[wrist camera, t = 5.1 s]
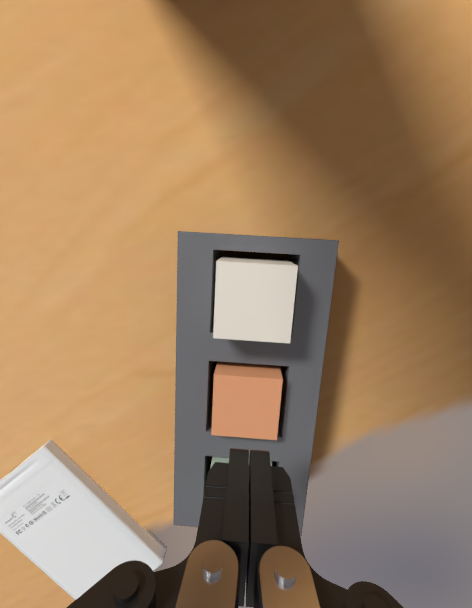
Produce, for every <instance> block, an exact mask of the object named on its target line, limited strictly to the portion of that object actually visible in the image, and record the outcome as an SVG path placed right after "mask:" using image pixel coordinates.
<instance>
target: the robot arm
mask: <svg viewBox="0 0 472 608" xmlns="http://www.w3.org/2000/svg"><path fill="white" fill-rule="evenodd" d="M245 582H246V607H254V608H403V607H402V606H401V605H400V604H399V603H398V602H397V601H396V600H395V599H394V598H393V597H392V596H391V595H390V594H389V593H388V592H387V591H385V590H384V589H383V588H381V587H379V586H378V585H376V584H373V583H370V582H363V581H361V582H357V583H355V584H353V585H352V586H350V588H349V589H348V590H347V589H345V588H342V587H340V586H338V585H336V584H333V583H331V582H329V581H327V580H325V579H323V578H322V577H321V576H319V575H318V574H317V573H316V572H315V571H314V570H313V569H312V568H311V566H310V565H309V563H308V562H307V560H306V558H305V556H304V553H303V549H302V544H301V538H300V532H299V526H298V520H297V514H296V508H295V502H294V496H293V490H292V484H291V479H290V477H289V476H288V474H287V472H286V471H285V469H284V468H283V467H275V466H271V464H270V453H269V451H264V450H250V458H249V449H236V448H230V455H229V463H221V462H215V463H214V464H213V466H212V467H211V469H210V470H209V471H208V474H207V480H206V486H205V491H204V498H203V503H202V509H201V514H200V520H199V526H198V532H197V537H196V542H195V545H194V548H193V549H192V551H191V553H190V554H189V555H188V557H187V558H186V559H185V560H184V561H182V562H181V563H179V564H178V565H176V566H174V567H171V568H168V569H164V570H161V571H157V572H154V573H153V571H152V569H151V568H150V567H149V566H148V565H147V564H146V563H144V562H141V561H137V560H133V561H127V562H124V563H121V564H120V565H118V566H116V567H115V568H114V569H112V570H111V571H110V572H109V573H107V574H106V575H105V576H104V577H103V578H101V579H100V580H99V581H98V582H97V583H95V584H94V585H93V586H92V587H91V588H90V589H88V590H87V591H86V592H85V593H84V594H82V595H81V596H80V597H79V598H78V599H76V600H75V601H74V602H73V603H72V604H70V605H69V606H68V607H67V608H238V606H244V595H245Z"/></svg>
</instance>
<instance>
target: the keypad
mask: <svg viewBox="0 0 472 608" xmlns="http://www.w3.org/2000/svg"><path fill="white" fill-rule="evenodd" d="M338 243H339V241H337V240H320V239H303V238H286V237H268V236H251V235H234V234H216V233H199V232H182V231H178V262H177V329H176V396H175V463H174V525H179V526H191V527H198V526H199V520H200V514H201V509H202V503H203V498H204V491H205V486H206V480H207V474H208V471H209V462H210V456H216V457H228V458H229V455H230V448H236V449H249V458H250V450H264V451H269V453H270V461H272V466H275V467H283V468H284V469H285V471H286V472H287V474H288V476H289V477H290V479H291V484H292V490H293V496H294V502H295V508H296V514H297V520H298V526H299V532H300V536H301V534H302V526H303V518H304V510H305V502H306V495H307V487H308V479H309V471H310V463H311V455H312V447H313V440H314V432H315V424H316V416H317V408H318V400H319V392H320V385H321V377H322V369H323V361H324V353H325V345H326V337H327V330H328V322H329V314H330V306H331V298H332V290H333V282H334V275H335V267H336V259H337V251H338ZM219 250H228V251H245V252H262V253H279V254H292V260H291V262H292V263H294V264H296V265H297V266H298V271H297V281H296V291H295V301H294V311H293V321H292V330H291V340H290V343H276V342H261V341H246V340H232V339H217V338H213V329H214V305H215V282H216V261H217V260H218V257H219ZM214 361H221V362H235V363H249V364H263V365H277V366H281V374H282V378H283V382H282V393H281V403H280V413H279V423H278V434H277V440H267V439H254V438H242V437H229V436H216V435H211V429H212V406H213V404H212V394H213V371H214Z"/></svg>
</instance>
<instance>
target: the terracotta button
mask: <svg viewBox="0 0 472 608" xmlns="http://www.w3.org/2000/svg"><path fill="white" fill-rule="evenodd" d="M282 382H283V378H282V374H281V370H280V366H277V365H263V364H249V363H235V362H221V361H217V365H216V368H215V372H214V383H213V406H212V429H211V435H216V436H229V437H242V438H254V439H267V440H277V434H278V423H279V413H280V403H281V393H282Z"/></svg>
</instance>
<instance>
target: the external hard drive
mask: <svg viewBox="0 0 472 608" xmlns="http://www.w3.org/2000/svg"><path fill="white" fill-rule="evenodd" d="M0 533H1V534H2V535H3V536H4V537H5V538H7V539H8V540H9V541H10V542H11V543H12V544H13V545H14V546H15V547H17V548H18V549H19V550H20V551H21V552H22V553H23V554H24V555H25V556H27V557H28V558H29V559H30V560H31V561H32V562H33V563H34V564H36V565H37V566H38V567H39V568H40V569H41V570H42V571H43V572H44V573H46V574H47V575H48V576H49V577H50V578H51V579H52V580H53V581H54V582H56V583H57V584H58V585H59V586H60V587H61V588H62V589H63V590H65V591H66V592H67V593H68V594H69V595H70V596H71V597H72V598H74V599H75V600H76V599H78V598H79V597H80V596H81V595H82V594H84V593H85V592H86V591H87V590H88V589H90V588H91V587H92V586H93V585H94V584H95V583H97V582H98V581H99V580H100V579H101V578H103V577H104V576H105V575H106V574H107V573H109V572H110V571H111V570H112V569H114V568H115V567H116V566H118V565H120V564H121V563H124V562H127V561H133V560H137V561H141V562H144V563H146V564H147V565H148V566H149V567H150V568H151V569H152V571H154V570H155V569H156V568H158V567H159V566H160V565H161V564H162V563H163V561H164V557H165V554H166V550H167V546H166V545H164V543H162V541H160V540H159V539H158V538H157V537H156V536H155V535H154V534H153V533H152V532H151V531H150V530H149V529H145V530H144V529H143V528H142V527H141V526H140V525H139V524H138V523H137V522H136V521H135V520H134V519H133V518H132V517H131V516H130V515H129V514H128V513H127V512H126V511H125V510H124V509H122V508H121V507H120V506H119V505H118V504H117V503H116V502H115V501H114V500H113V499H112V498H111V497H110V496H109V495H108V494H107V493H106V492H105V491H104V490H103V489H102V488H101V487H100V486H99V485H98V484H97V483H96V482H95V481H94V480H92V479H91V478H90V477H89V476H88V475H87V474H86V473H85V472H84V471H83V470H82V469H81V468H80V467H79V466H78V465H77V464H76V463H75V462H74V461H73V460H72V459H71V458H70V457H69V456H68V455H67V454H66V453H65V452H63V451H62V450H61V449H60V448H59V447H58V446H57V445H56V444H55V443H54V442H53V441H52V440H51V439H50V440H49V441H48V442H47V443H45V444H44V445H43V446H42V447H41V448H39V449H38V450H37V451H36V452H34V453H33V454H32V455H31V456H29V457H28V458H27V459H26V460H24V461H23V462H22V463H21V464H20V465H19V466H18V467H16V468H15V469H14V470H13V471H12V472H10V473H9V474H7V475H6V476H5V477H3V478H2V479H1V480H0Z"/></svg>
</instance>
